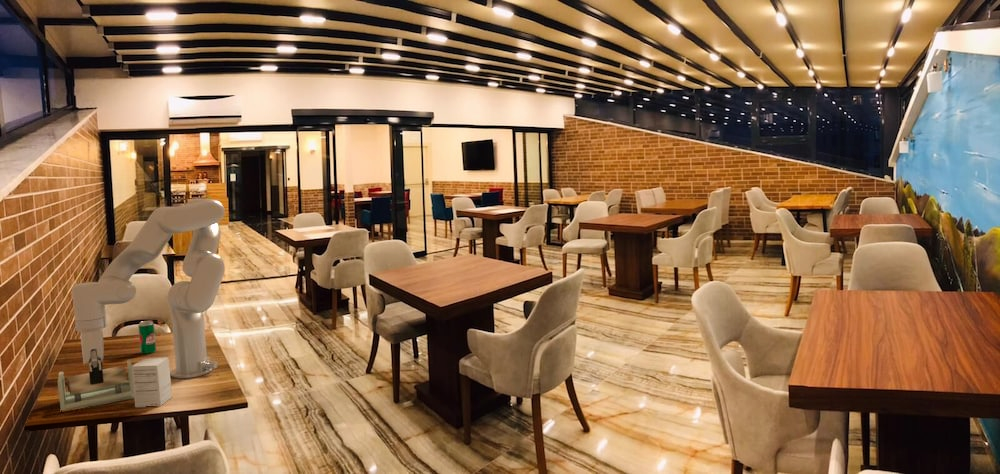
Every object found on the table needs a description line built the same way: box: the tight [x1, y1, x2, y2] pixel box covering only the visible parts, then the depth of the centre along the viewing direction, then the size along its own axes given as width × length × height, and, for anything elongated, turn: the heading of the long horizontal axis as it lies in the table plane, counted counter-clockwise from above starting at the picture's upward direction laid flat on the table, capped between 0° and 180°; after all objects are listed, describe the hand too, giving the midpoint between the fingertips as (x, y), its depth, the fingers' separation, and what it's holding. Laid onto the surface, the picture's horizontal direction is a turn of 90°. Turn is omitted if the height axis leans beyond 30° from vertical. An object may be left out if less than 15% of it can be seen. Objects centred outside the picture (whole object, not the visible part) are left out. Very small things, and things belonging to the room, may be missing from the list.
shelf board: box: [66, 365, 128, 395], centre depth 170 cm, size 14×5×4 cm, turn 136°
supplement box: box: [131, 356, 173, 408], centre depth 167 cm, size 7×7×13 cm
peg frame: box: [57, 359, 134, 411], centre depth 170 cm, size 18×12×9 cm, turn 126°
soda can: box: [137, 320, 157, 355], centre depth 215 cm, size 5×5×12 cm
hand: (96, 378), depth 170 cm, fingers open, 9 cm apart
